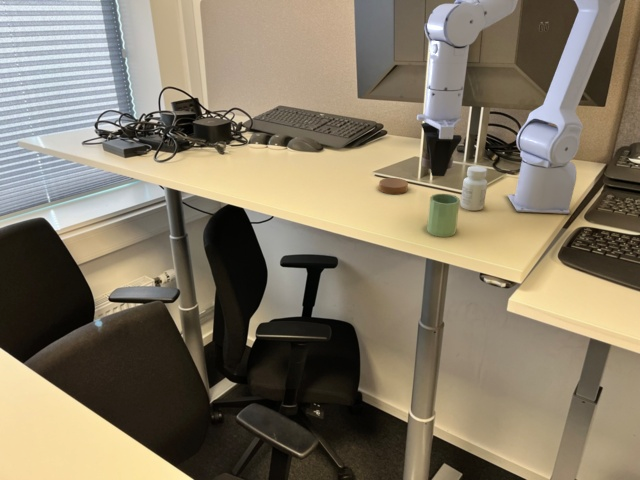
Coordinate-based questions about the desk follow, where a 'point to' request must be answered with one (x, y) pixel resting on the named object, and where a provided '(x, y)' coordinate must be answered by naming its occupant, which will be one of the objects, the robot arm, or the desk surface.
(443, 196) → the plastic cup
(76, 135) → the desk surface
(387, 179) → the teak chip
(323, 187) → the desk surface
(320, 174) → the desk surface
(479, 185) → the pill bottle
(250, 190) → the desk surface
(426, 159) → the brown round lid
